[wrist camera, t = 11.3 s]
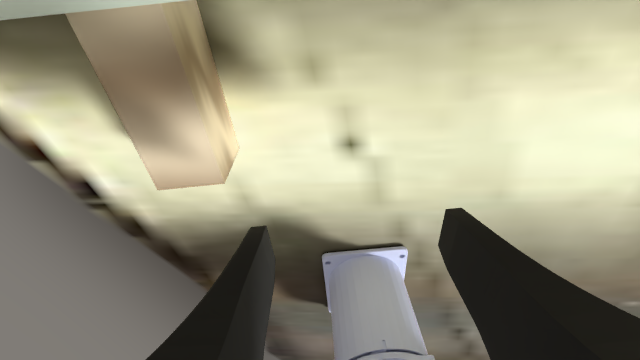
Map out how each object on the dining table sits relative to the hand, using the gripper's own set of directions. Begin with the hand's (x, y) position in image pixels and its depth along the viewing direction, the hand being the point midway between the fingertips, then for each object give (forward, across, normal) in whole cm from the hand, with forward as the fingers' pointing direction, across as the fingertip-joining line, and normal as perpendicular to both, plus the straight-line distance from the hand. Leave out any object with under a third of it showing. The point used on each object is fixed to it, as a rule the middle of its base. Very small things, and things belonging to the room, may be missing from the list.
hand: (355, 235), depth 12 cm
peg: (+10, +9, -6) cm, 15 cm away
